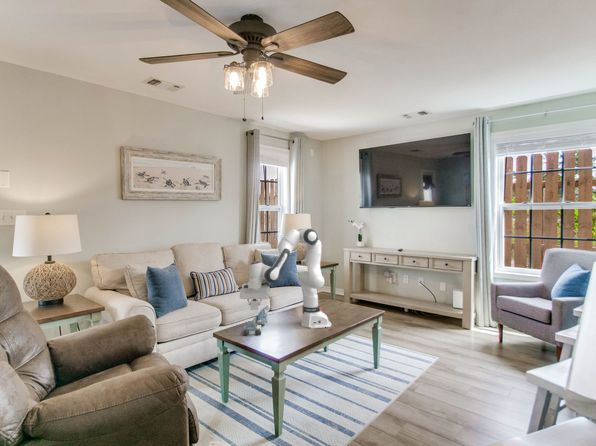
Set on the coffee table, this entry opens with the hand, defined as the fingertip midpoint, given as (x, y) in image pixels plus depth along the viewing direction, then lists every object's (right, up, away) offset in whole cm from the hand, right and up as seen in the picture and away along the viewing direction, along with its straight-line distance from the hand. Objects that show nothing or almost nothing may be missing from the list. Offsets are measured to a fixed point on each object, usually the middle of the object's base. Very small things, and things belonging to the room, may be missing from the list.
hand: (254, 305), depth 230 cm
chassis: (-1, -19, +1) cm, 19 cm away
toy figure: (+4, -19, +16) cm, 26 cm away
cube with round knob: (0, -3, 0) cm, 3 cm away
